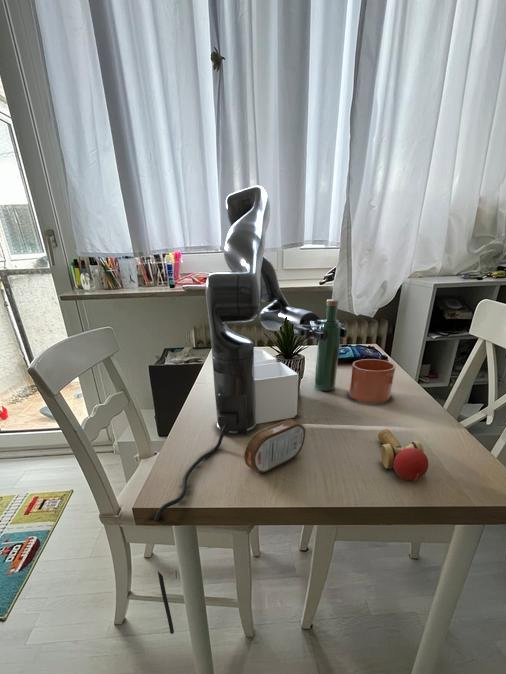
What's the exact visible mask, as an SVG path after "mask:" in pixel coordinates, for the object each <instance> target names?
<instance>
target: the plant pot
mask: <svg viewBox="0 0 506 674" xmlns="http://www.w3.org/2000/svg"><path fill="white" fill-rule="evenodd" d="M396 367H397V366H396V364H395V363H393V362H392V361H390V360H389V361H388V360H384V359H377V358H365V359H358V360H355V361H353V362H352V364H351V371H350V382H349V389H348V396H349V397H350V398H351V399H353V400H355V401H358V402H362V403H370V404H371V403H383V402H386V401H389V400H390V398H391V395H392V390H393V385H394V384H393V383H394V380H395V379H394V378H395V374H396V373H395V372H396Z"/></svg>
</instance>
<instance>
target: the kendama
mask: <svg viewBox="0 0 506 674" xmlns="http://www.w3.org/2000/svg"><path fill="white" fill-rule="evenodd" d="M377 439H378V441H379V442H380V443H382V445H381V449H380V455H381V461H382V464H383V467H384V468H385V469H393V470H394V472H395V473H396V475H397V476H398V477H399V478H401V479H403V480H406V481H412V482H414V481H417V480H419V479H422V478H423V477H424V476H425V475H426V474H427V472H428V469H429V466H430V465H429V464H430V463H429V459H428V456H427V455H426V454H425V452H424V448H423V445H422V442H421V441H420V440H413V441H412V442H411V443H409V445H407V446H402V444H401V443H400V442H399V440H398V439H397V437H395V435H394V434H393V432H392V431H391V429H390V430H389V429H388V428H387V429H386V428H384V429H381V431H379V433H378V434H377Z"/></svg>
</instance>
